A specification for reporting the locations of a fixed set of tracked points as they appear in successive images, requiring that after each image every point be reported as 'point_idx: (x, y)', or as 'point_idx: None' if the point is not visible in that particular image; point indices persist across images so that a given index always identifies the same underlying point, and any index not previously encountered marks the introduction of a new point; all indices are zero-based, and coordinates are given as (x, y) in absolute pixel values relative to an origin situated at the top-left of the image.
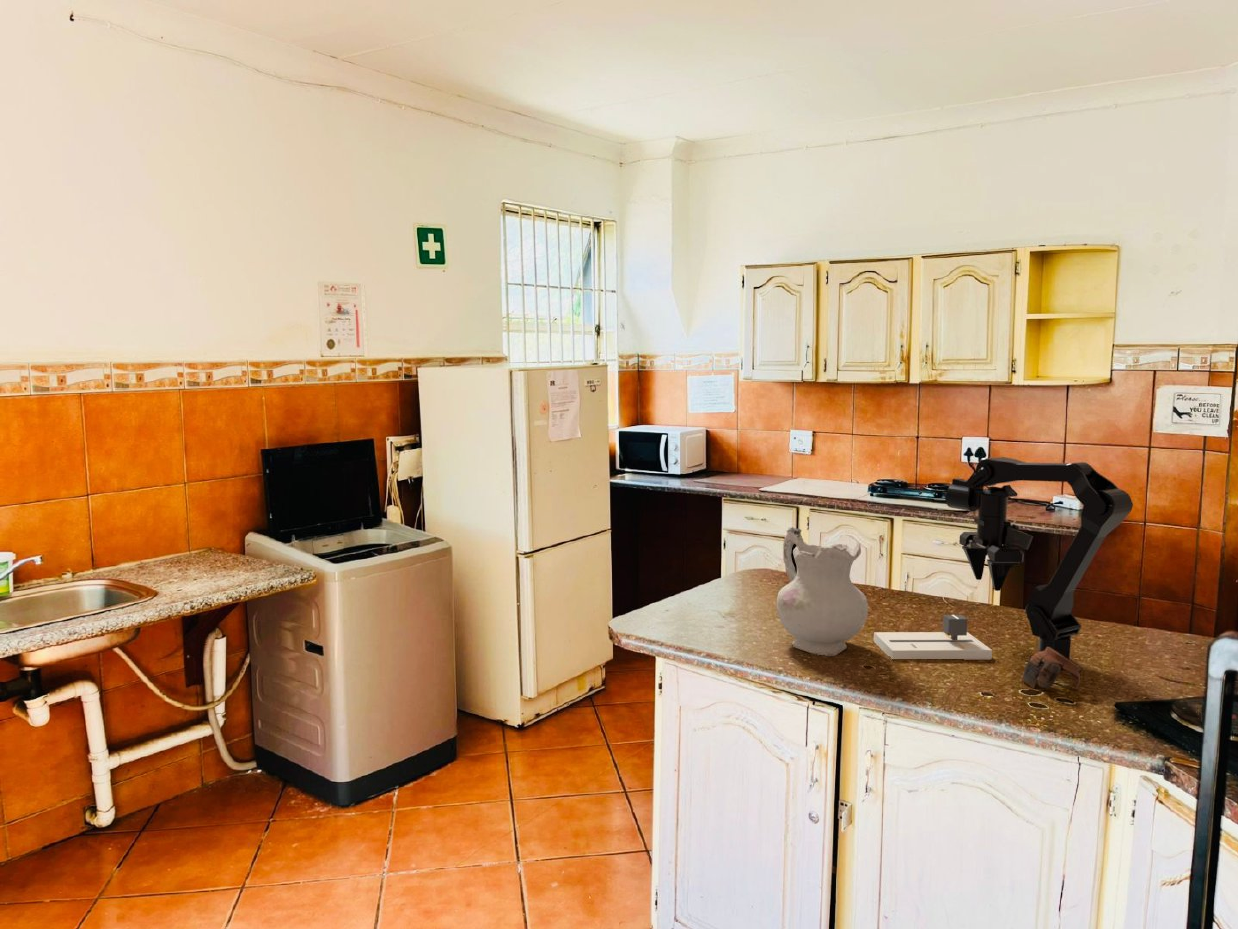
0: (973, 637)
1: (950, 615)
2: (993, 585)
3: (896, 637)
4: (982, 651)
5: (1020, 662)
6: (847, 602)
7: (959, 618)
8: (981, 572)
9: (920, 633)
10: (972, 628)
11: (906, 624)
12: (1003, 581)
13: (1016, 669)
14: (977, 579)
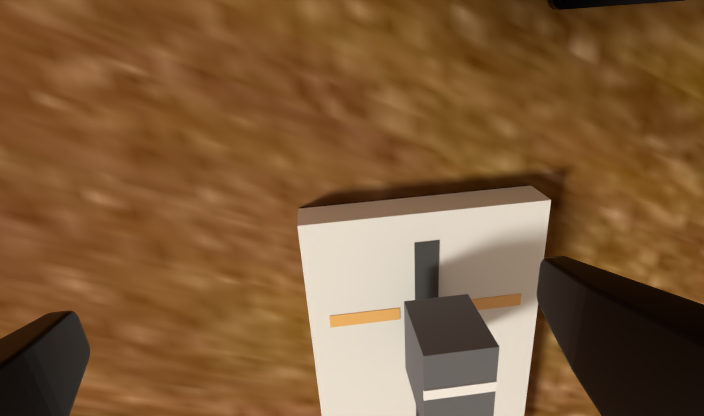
0: (378, 223)
1: (432, 404)
2: (568, 350)
3: None
4: (544, 235)
5: (577, 76)
6: None
7: (485, 378)
8: (18, 377)
9: (335, 400)
10: (76, 120)
11: (98, 379)
12: (683, 306)
13: (646, 127)
14: (89, 348)
